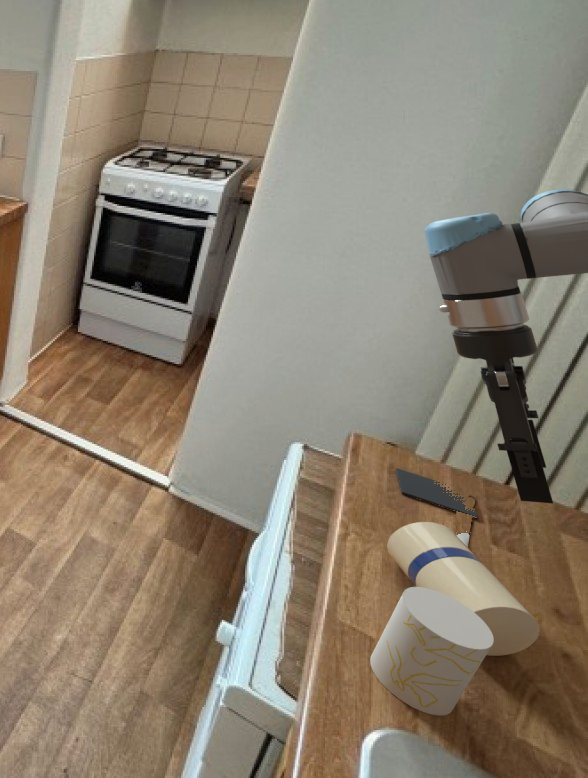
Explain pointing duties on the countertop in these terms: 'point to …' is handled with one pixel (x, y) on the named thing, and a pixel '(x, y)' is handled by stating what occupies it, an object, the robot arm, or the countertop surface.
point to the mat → (430, 491)
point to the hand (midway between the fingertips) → (534, 483)
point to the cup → (430, 650)
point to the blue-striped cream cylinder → (463, 582)
